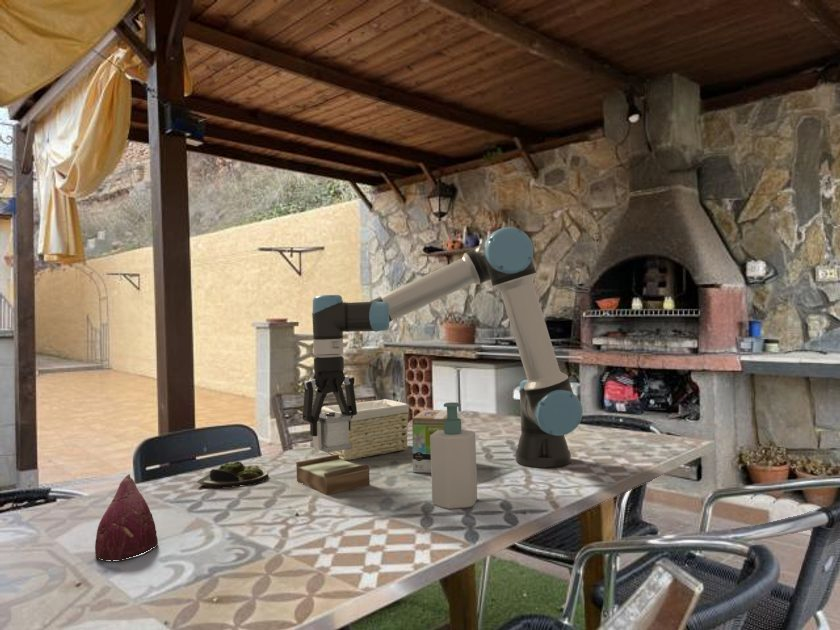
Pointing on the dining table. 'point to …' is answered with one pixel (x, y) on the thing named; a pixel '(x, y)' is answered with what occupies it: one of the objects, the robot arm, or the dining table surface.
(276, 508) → the dining table surface
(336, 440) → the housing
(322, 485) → the stand
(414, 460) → the tea box
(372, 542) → the dining table surface
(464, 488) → the soap bottle
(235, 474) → the salad plate
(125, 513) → the vegetable
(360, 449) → the storage basket
